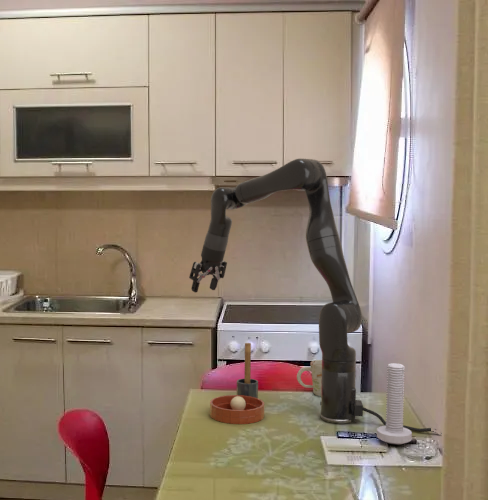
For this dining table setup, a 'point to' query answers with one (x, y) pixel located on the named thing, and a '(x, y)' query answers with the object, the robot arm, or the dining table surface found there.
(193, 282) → the robot arm
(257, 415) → the bowl
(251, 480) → the dining table surface
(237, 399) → the dough ball
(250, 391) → the tube
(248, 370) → the stick
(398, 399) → the screw
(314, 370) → the mug
